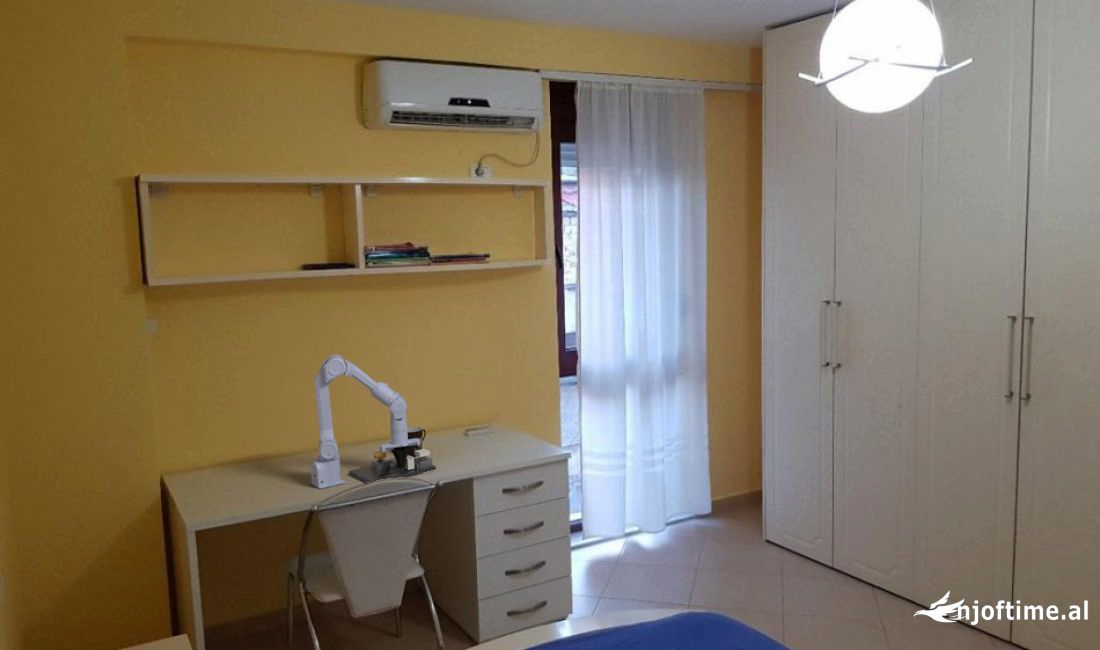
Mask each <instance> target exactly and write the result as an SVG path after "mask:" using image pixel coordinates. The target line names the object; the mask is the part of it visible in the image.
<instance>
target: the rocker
mask: <svg viewBox="0 0 1100 650" xmlns="http://www.w3.org/2000/svg"><path fill="white" fill-rule="evenodd" d="M387 460H389V461H390V463H392V464H394V463H396V462H397V461H396V459H395V457H394V456H392V457H391V458H388V459H387Z"/></svg>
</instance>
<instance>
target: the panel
mask: <svg viewBox="0 0 1100 650" xmlns="http://www.w3.org/2000/svg"><path fill="white" fill-rule="evenodd" d="M435 469H436V470H437V466H436V465H433V458H430V457H428V456H425V460H420V457H414V469H410V470H407V469H405V468H403V469H400V468H398V464H397V462H396V463H394V464H392V463H390V461H389V460H388V459H387V458H383V462H378V459H373V460H370V466H364V467H360V468H355V469H350V470H348V475H349V476H350V475H351V476H350V477H352V476H353V478H354V477H355V479H356V480H359V479H360V480H359V481H360V482H363V483H365V482H373V481H376V480H380V479H387V478H398V477H407V478H410V477H416V476H418V475H417V474H419V475H421V474H420V473H423V472H427V471H431V470H435ZM423 474H424V473H423Z"/></svg>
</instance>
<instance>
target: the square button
mask: <svg viewBox="0 0 1100 650" xmlns="http://www.w3.org/2000/svg"><path fill="white" fill-rule="evenodd" d="M430 452H431V451H430V450H428V449H425V448H422V449H421V450H416V451H414V454H415V455H416V456H418V457H417V458H420V460H425V457H428V456H431V453H430Z"/></svg>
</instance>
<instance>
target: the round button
mask: <svg viewBox="0 0 1100 650" xmlns="http://www.w3.org/2000/svg"><path fill="white" fill-rule="evenodd" d="M373 458H374V459H375V460H378V462H383V458H384V459H386V458H387V451H385V452H381V451H380V450H379V451H374V452H373Z"/></svg>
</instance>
